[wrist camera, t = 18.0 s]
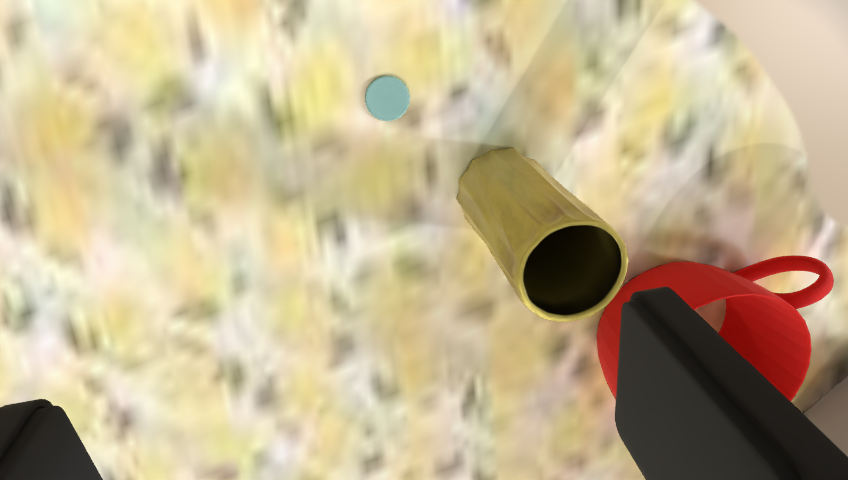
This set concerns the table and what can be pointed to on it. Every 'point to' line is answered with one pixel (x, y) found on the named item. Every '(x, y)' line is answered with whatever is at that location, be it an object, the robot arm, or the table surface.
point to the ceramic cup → (734, 314)
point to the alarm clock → (833, 415)
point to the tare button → (387, 98)
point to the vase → (542, 236)
